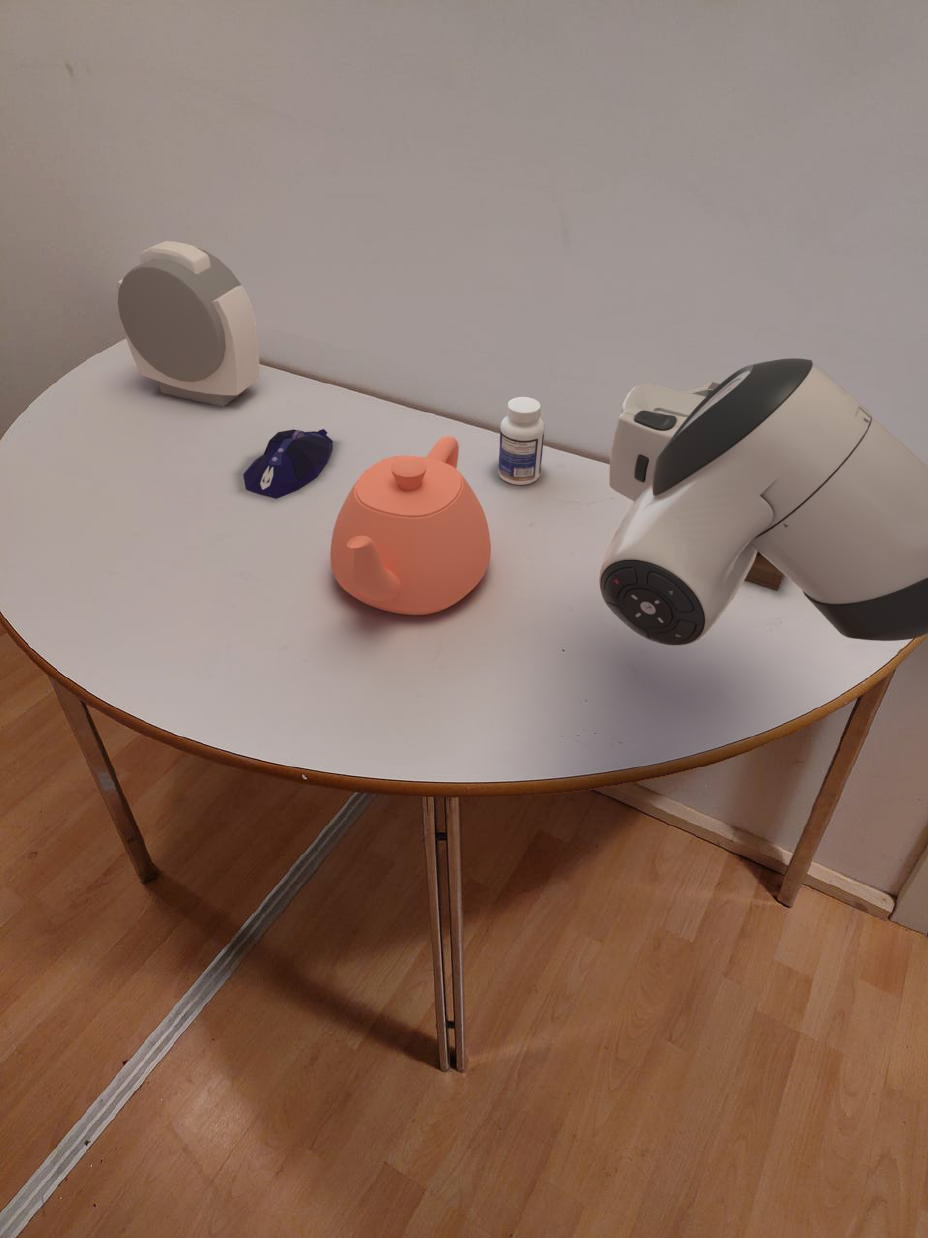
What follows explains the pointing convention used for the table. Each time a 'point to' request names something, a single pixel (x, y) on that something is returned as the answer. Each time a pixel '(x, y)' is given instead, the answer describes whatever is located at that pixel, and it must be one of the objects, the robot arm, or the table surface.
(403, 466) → the teapot
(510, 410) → the pill bottle
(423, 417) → the table surface
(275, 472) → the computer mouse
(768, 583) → the serving tray
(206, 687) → the table surface
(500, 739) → the table surface
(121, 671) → the table surface
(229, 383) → the alarm clock
